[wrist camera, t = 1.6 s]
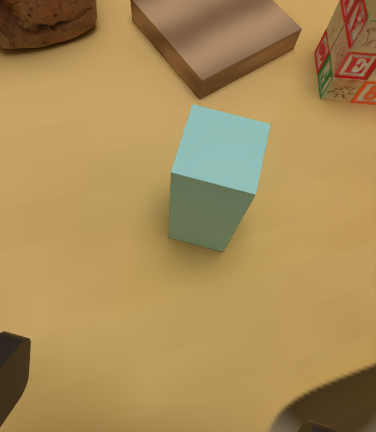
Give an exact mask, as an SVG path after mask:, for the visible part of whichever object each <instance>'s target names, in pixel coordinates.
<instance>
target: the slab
mask: <svg viewBox="0 0 376 432" xmlns="http://www.w3.org/2000/svg"><path fill="white" fill-rule="evenodd" d="M130 1H131V11H132V20H133V22H134V23H135V24H136V25H137V26H138V28H139V29H140V30H141V31H142V32H143V33H144V35H145V36H146V37H147V38H148V39H149V40H150V42H151V43H152V44H153V45H154V46H155V48H156V49H157V50H158V51H159V52H160V53H161V55H162V56H163V57H164V58H165V59H166V60H167V62H168V63H169V64H170V65H171V66H172V68H173V69H174V70H175V71H176V72H177V73H178V75H179V76H180V77H181V78H182V79H183V81H184V82H185V83H186V84H187V85H188V86H189V88H190V89H191V90H192V91H193V92H194V93H195V95H196V96H197V97H198V98H199V99H202V98H204V97H205V96H207V95H209V94H211V93H213V92H215V91H217V90H218V89H220V88H222V87H224V86H226V85H228V84H230V83H231V82H233V81H235V80H237V79H239V78H241V77H243V76H244V75H246V74H248V73H250V72H252V71H254V70H256V69H257V68H259V67H261V66H263V65H265V64H267V63H269V62H270V61H272V60H274V59H276V58H278V57H280V56H282V55H283V54H285V53H287V52H289V51H291V50H293V48H294V46H295V44H296V41H297V39H298V36H299V34H300V32H301V29H302V28H301V27H300V26H299V25H298V24H297V23H295V22H294V21H293V20H292V19H291V18H290V17H289V16H288V15H287V14H286V13H285V12H284V11H283V10H282V9H281V8H280V7H279V6H278V5H277V4H276V3H275V2H274V1H273V0H130Z"/></svg>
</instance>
